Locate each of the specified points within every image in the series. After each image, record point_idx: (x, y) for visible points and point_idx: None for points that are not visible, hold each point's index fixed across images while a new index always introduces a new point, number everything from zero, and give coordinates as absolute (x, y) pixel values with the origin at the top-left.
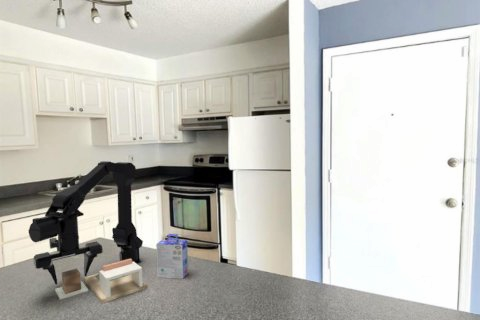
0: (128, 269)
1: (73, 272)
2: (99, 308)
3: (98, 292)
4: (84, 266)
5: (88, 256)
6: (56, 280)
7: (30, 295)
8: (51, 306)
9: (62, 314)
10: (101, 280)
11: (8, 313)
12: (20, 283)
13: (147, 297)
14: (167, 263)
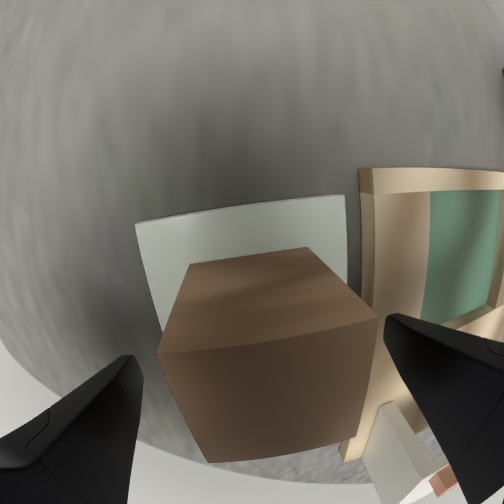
0: None
1: (306, 417)
2: (321, 465)
3: (361, 423)
4: (443, 369)
5: (493, 493)
6: (135, 418)
7: (22, 210)
8: (152, 407)
9: (206, 462)
10: (395, 464)
11: (9, 349)
12: (14, 25)
13: (433, 434)
14: None
